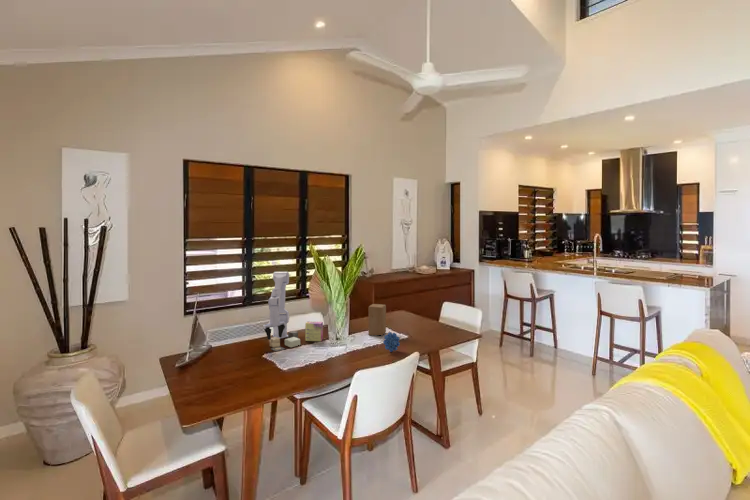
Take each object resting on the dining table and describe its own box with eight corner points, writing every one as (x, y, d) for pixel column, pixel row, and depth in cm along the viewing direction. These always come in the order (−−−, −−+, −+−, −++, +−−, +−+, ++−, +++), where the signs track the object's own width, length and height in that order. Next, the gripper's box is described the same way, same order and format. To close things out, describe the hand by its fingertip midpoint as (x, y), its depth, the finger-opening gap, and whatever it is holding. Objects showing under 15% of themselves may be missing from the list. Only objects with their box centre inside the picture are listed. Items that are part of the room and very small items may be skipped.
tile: (270, 349, 228) (270, 348, 228) (279, 347, 232) (279, 346, 232) (276, 351, 224) (276, 350, 224) (284, 349, 228) (284, 348, 228)
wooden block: (368, 335, 259) (368, 306, 258) (372, 331, 269) (372, 303, 268) (382, 336, 256) (382, 307, 255) (386, 332, 266) (386, 304, 265)
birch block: (269, 346, 234) (269, 338, 234) (276, 344, 238) (276, 336, 237) (273, 347, 231) (273, 339, 231) (279, 346, 234) (279, 338, 234)
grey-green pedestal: (284, 345, 237) (284, 339, 236) (294, 343, 242) (294, 336, 241) (290, 347, 232) (290, 341, 232) (300, 345, 237) (300, 339, 236)
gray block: (288, 339, 248) (288, 332, 248) (292, 338, 252) (292, 330, 251) (293, 340, 246) (293, 333, 245) (298, 339, 249) (297, 331, 249)
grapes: (387, 355, 218) (387, 335, 217) (381, 352, 223) (381, 332, 223) (403, 352, 224) (403, 332, 223) (397, 349, 229) (397, 329, 229)
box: (323, 339, 250) (322, 321, 249) (320, 341, 244) (320, 323, 243) (307, 338, 251) (307, 321, 250) (305, 341, 245) (305, 323, 244)
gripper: (267, 319, 225) (267, 341, 226) (288, 315, 236) (288, 337, 236) (261, 317, 230) (261, 339, 231) (282, 313, 241) (282, 334, 241)
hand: (274, 338), depth 234 cm, fingers open, 7 cm apart
